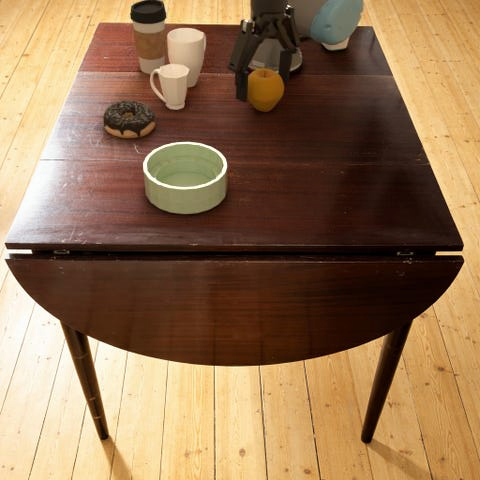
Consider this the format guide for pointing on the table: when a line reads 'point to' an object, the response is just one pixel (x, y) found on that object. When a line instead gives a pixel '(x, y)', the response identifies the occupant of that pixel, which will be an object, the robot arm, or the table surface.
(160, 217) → the table surface
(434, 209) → the table surface
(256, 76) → the apple
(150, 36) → the coffee cup
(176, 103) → the cup
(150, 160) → the serving bowl
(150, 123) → the donut
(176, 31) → the mug
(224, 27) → the table surface
